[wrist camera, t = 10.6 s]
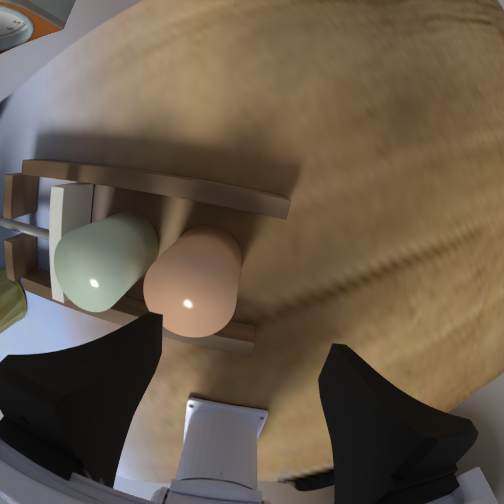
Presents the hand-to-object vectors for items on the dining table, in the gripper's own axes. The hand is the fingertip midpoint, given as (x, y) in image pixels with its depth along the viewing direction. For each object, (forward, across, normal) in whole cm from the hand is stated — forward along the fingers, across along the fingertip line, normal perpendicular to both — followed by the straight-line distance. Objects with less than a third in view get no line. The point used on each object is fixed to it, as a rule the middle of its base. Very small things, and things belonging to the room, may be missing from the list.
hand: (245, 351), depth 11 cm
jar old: (+10, +9, 0) cm, 14 cm away
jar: (+10, +3, 0) cm, 10 cm away
